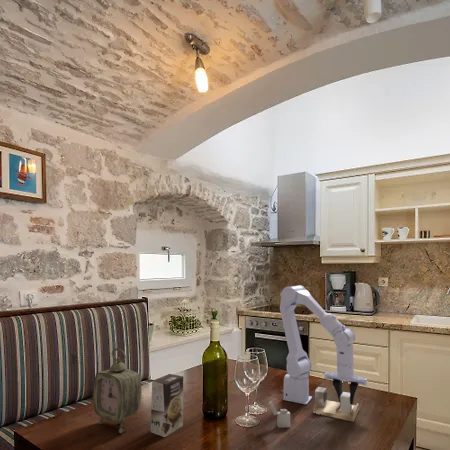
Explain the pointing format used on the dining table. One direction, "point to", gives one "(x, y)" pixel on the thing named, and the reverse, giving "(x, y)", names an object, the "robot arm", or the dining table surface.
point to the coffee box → (167, 404)
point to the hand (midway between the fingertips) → (346, 402)
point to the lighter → (281, 416)
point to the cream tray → (331, 406)
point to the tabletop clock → (117, 392)
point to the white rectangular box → (345, 403)
